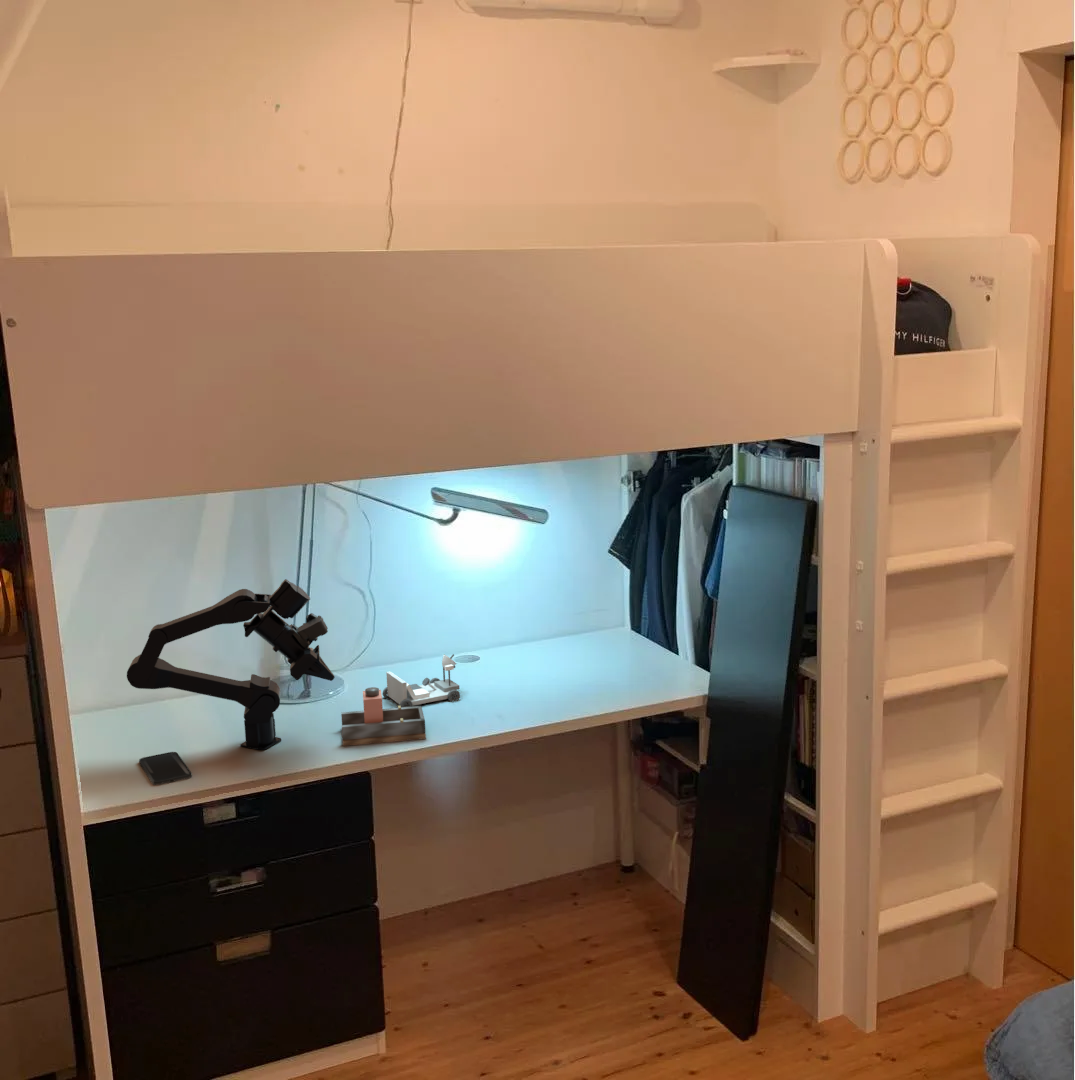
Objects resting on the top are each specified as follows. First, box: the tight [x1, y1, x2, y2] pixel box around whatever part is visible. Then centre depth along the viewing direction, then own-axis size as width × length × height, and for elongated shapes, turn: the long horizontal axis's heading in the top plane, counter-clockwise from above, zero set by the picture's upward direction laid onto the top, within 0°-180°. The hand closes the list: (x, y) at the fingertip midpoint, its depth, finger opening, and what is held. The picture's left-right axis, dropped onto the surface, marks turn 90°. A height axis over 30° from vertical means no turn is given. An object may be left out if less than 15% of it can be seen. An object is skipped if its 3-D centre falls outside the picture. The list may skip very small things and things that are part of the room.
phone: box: [138, 751, 193, 786], centre depth 239 cm, size 8×1×15 cm
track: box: [340, 705, 427, 747], centre depth 257 cm, size 18×11×4 cm, turn 100°
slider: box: [362, 686, 384, 723], centre depth 255 cm, size 4×6×9 cm, turn 10°
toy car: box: [382, 653, 461, 708], centre depth 279 cm, size 18×10×12 cm
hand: (333, 678), depth 252 cm, fingers closed
